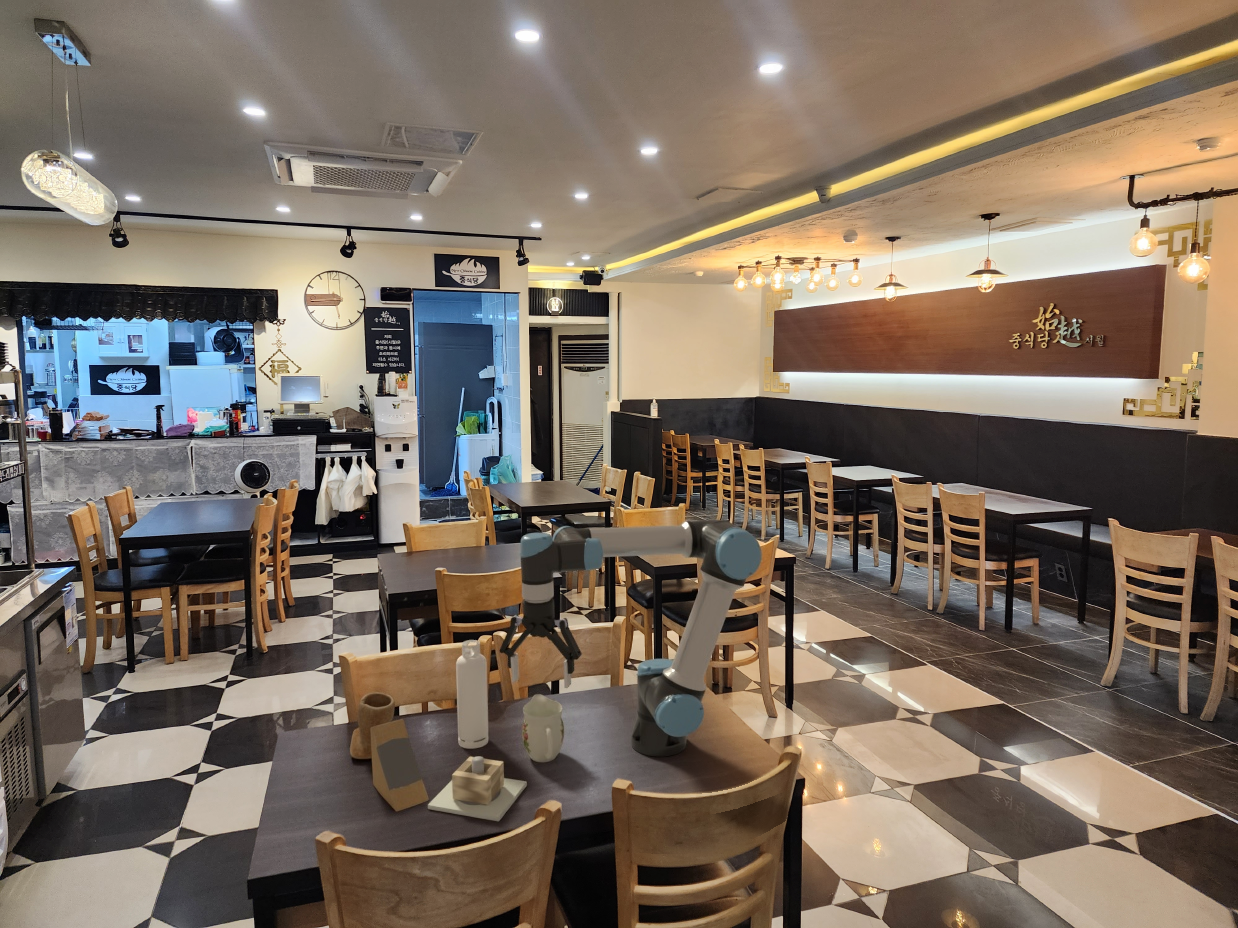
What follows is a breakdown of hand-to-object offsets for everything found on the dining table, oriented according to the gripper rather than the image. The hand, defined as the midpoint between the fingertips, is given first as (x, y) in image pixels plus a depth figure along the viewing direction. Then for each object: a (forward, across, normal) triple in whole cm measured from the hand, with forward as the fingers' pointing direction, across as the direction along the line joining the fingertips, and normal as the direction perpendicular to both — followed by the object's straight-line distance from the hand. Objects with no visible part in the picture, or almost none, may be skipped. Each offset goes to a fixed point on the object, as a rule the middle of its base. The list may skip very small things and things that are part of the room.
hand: (541, 683), depth 190 cm
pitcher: (+26, +5, -12) cm, 29 cm away
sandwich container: (+26, +32, +13) cm, 43 cm away
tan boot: (+25, +51, -4) cm, 57 cm away
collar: (+24, +13, +10) cm, 29 cm away
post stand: (+26, +13, +10) cm, 30 cm away
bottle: (+26, +27, -15) cm, 40 cm away
